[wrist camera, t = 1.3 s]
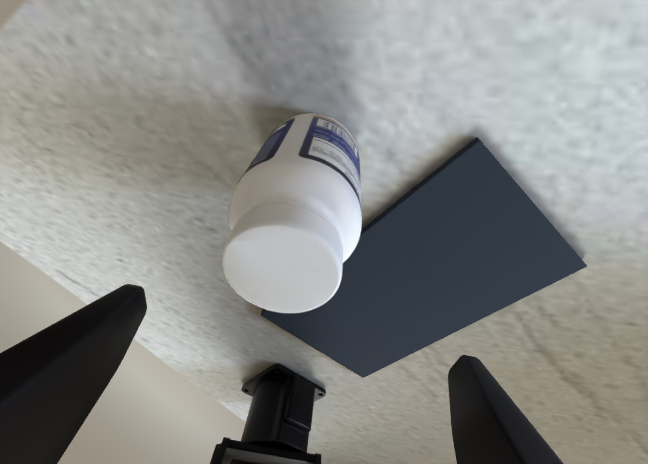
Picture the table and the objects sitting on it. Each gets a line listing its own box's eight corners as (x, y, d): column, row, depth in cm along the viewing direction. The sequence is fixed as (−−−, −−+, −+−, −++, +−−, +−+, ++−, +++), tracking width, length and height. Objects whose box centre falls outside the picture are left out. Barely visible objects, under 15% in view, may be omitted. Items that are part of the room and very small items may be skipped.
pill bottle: (278, 203, 20) (226, 329, 12) (256, 117, 17) (169, 209, 9) (363, 196, 19) (368, 326, 11) (356, 105, 16) (356, 193, 8)
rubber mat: (363, 373, 30) (363, 378, 30) (261, 310, 26) (260, 315, 26) (582, 261, 21) (587, 266, 20) (476, 136, 17) (479, 140, 16)
